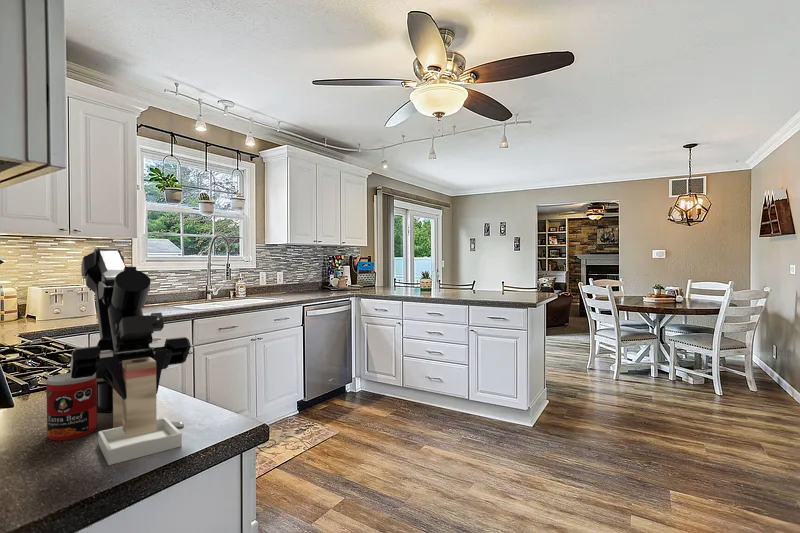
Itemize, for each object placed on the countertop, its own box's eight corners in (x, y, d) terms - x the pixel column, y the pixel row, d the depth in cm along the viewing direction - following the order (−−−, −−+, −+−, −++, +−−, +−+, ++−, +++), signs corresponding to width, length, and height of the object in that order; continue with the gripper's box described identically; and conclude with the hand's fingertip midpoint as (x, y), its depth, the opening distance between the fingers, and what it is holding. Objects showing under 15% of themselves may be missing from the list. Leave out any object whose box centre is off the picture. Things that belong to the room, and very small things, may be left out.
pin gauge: (141, 427, 88) (141, 421, 88) (145, 425, 89) (145, 419, 89) (181, 429, 87) (181, 423, 87) (185, 427, 88) (185, 421, 88)
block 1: (118, 420, 91) (118, 377, 91) (143, 417, 93) (143, 375, 93) (113, 428, 87) (112, 382, 87) (139, 425, 88) (138, 380, 88)
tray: (98, 444, 79) (98, 431, 79) (165, 428, 86) (165, 417, 86) (108, 465, 71) (108, 451, 71) (181, 446, 78) (181, 433, 78)
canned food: (38, 443, 80) (37, 383, 80) (59, 427, 87) (59, 372, 87) (86, 438, 82) (86, 380, 82) (103, 423, 89) (103, 369, 89)
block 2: (122, 429, 79) (121, 360, 79) (150, 423, 82) (150, 356, 82) (127, 437, 76) (126, 364, 75) (156, 430, 79) (156, 360, 78)
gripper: (71, 302, 75) (79, 379, 67) (187, 296, 88) (206, 361, 79) (67, 341, 81) (74, 416, 73) (176, 330, 94) (193, 394, 85)
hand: (140, 395), depth 78 cm, fingers closed on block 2, 4 cm apart
